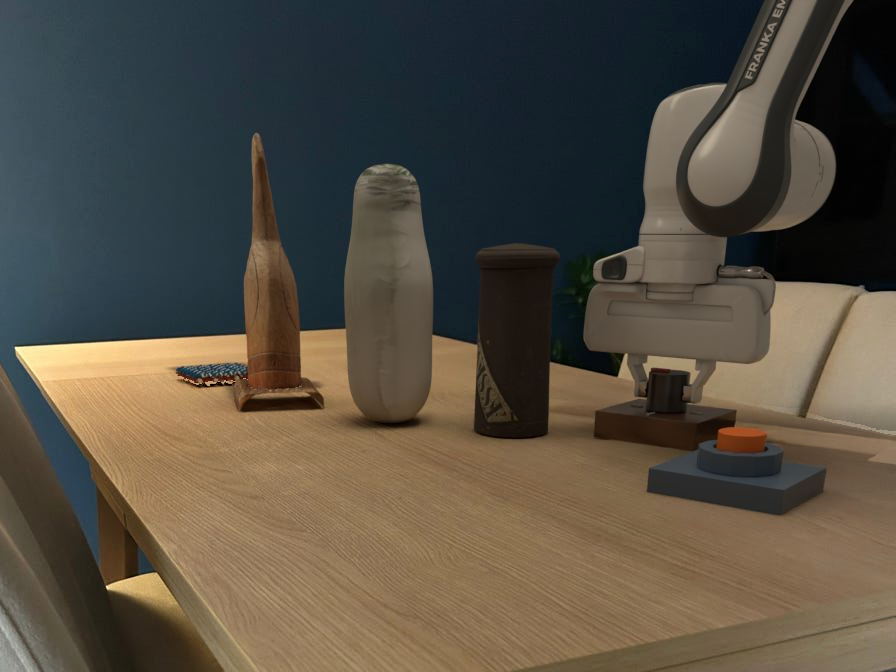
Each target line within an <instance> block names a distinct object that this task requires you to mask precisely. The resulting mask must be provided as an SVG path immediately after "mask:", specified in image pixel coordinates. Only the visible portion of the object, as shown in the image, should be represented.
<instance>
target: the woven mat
mask: <svg viewBox="0 0 896 672" xmlns="http://www.w3.org/2000/svg"><path fill="white" fill-rule="evenodd" d="M175 375H176V376H177V377H178V376H182V377H184V379H186V378H187V379H189V380H192V381H194V383H199V384H200V383H203V384H204V383H205V382H208V381H213V382H218V381H220V382H224V380H226V381H229V382H233V381H237V380H239V379H243V378H246V379H248V365H247V366H246V365H245V364H243V365H242V364H241V363H238V362H236V361H235V362H234V363H232V362H230V363H229V362H227V363H222V364H221V363H217V364H215V363H214V364H212V363H211V364H210V363H209V364H207V365H206V364H204V365H203V364H199V365H196V364H195V366H193V365H189V366H187V365H186V366H185V365H183V366H180V367H176V369H175ZM231 380H233V381H231Z"/></svg>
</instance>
